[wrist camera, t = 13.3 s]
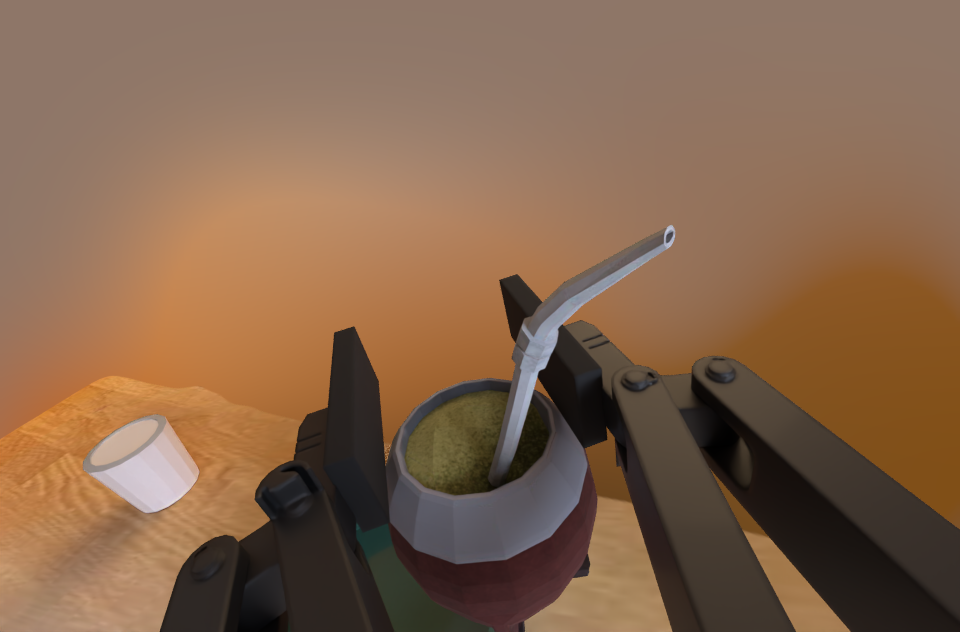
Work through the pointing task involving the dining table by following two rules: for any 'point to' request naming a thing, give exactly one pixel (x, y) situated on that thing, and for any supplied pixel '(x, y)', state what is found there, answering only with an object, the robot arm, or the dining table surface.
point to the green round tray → (406, 590)
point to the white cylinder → (144, 464)
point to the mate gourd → (501, 475)
